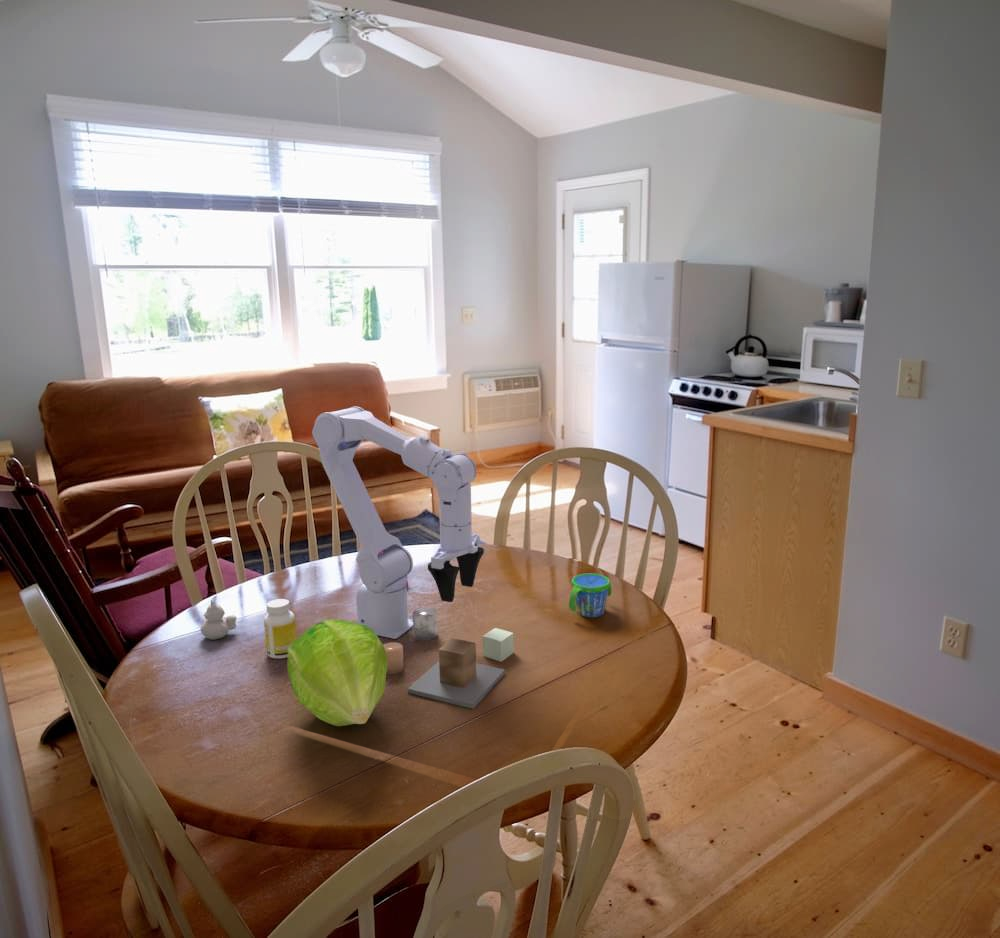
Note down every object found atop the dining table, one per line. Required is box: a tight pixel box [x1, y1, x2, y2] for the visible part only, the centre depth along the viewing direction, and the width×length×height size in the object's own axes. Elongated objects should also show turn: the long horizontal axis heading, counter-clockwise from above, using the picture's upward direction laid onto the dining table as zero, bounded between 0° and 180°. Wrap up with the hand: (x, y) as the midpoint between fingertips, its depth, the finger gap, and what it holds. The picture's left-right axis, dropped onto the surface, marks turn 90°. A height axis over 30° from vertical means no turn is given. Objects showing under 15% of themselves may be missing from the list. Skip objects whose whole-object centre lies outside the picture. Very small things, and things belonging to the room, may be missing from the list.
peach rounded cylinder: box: [382, 641, 405, 675], centre depth 125 cm, size 4×4×4 cm
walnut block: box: [438, 637, 477, 688], centre depth 120 cm, size 4×4×6 cm
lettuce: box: [286, 618, 388, 727], centre depth 107 cm, size 15×22×15 cm, turn 20°
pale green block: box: [482, 627, 515, 663], centre depth 130 cm, size 4×4×4 cm
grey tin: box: [412, 607, 438, 642], centre depth 137 cm, size 4×4×5 cm
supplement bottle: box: [263, 598, 298, 660], centre depth 131 cm, size 5×5×10 cm
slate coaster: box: [407, 660, 506, 710], centre depth 120 cm, size 12×12×1 cm
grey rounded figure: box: [200, 599, 237, 641], centre depth 138 cm, size 5×7×8 cm
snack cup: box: [568, 572, 612, 618], centre depth 146 cm, size 11×8×7 cm
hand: (457, 593), depth 132 cm, fingers open, 7 cm apart
